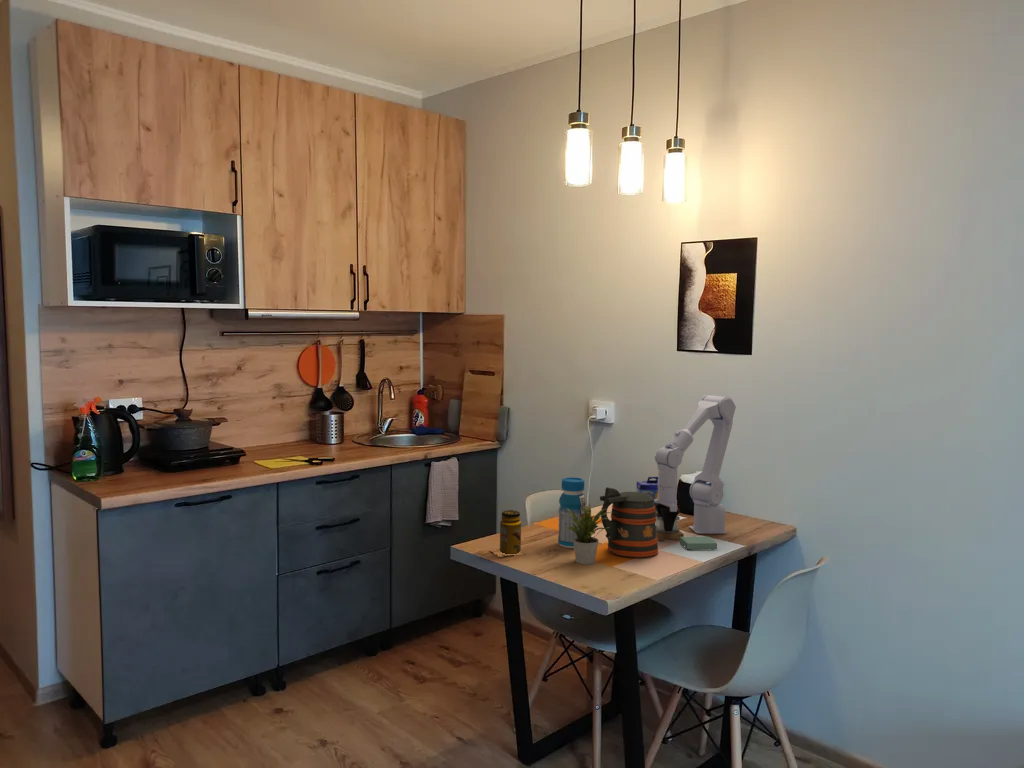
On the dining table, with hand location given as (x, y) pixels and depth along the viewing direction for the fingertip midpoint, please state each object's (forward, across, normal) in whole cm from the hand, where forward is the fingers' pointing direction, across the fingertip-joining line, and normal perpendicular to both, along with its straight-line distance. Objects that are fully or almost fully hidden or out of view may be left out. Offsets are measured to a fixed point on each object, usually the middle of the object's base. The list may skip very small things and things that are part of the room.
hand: (666, 528), depth 233 cm
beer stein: (+3, +15, -16) cm, 22 cm away
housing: (+1, 0, 0) cm, 1 cm away
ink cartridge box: (+3, -25, +2) cm, 25 cm away
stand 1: (+3, 0, 0) cm, 3 cm away
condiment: (+3, +14, -51) cm, 53 cm away
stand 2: (+3, +10, +7) cm, 13 cm away
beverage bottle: (+3, +7, -31) cm, 32 cm away
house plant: (+3, +24, -29) cm, 38 cm away
